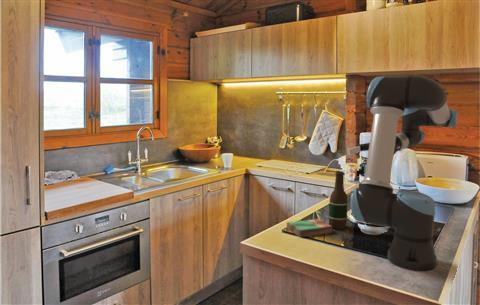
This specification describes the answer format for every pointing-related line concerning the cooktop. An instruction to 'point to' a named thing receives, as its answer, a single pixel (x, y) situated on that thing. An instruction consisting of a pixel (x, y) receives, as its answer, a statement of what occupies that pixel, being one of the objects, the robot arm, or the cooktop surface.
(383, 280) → the cooktop surface
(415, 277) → the cooktop surface
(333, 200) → the beer bottle
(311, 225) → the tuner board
